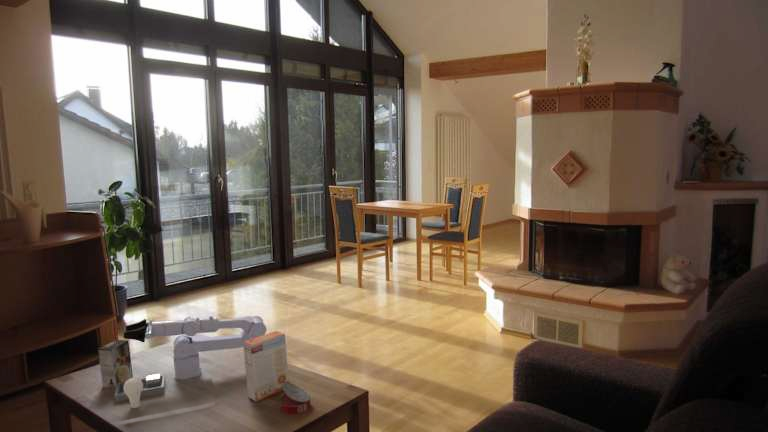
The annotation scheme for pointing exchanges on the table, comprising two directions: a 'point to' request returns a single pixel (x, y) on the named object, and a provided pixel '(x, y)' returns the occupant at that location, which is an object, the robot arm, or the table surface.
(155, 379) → the steel block
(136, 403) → the lightbulb
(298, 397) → the canned food
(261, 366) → the cracker box
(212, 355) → the table surface
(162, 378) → the tote
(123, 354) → the coffee box
